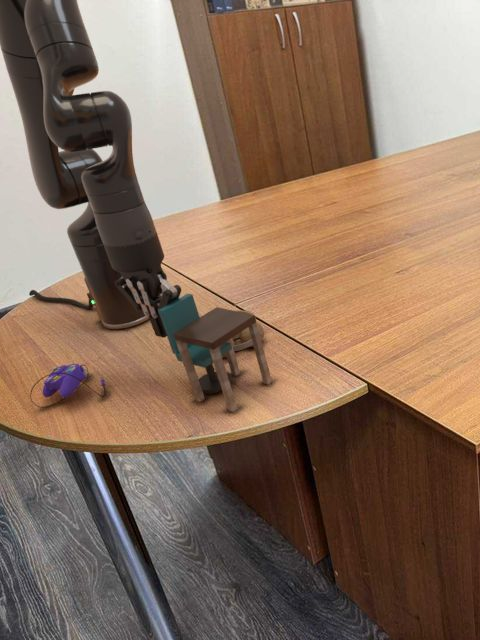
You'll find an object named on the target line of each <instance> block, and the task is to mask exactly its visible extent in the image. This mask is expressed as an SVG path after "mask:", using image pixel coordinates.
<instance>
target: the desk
mask: <svg viewBox="0 0 480 640" xmlns="http://www.w3.org/2000/svg"><path fill="white" fill-rule="evenodd" d="M237 311H238V310H232V309H228V308H227V309H226V308H222V307H219V306H216V307H215V308H213V309H212V310H210V311H207V312H206V313H205V314H203V315H201V316H199V317H200V318H198V319H196V320H195V321H193V322H191V323H190V324H188V325H186V326H185V327H183V328H181V329H180V330H178V331H176V332H175V333H173V335H174V338H175V340H176V344H177V346H178V349H179V352H180V355H181V358H182V361H183V362H182V361H181V362H182V363H183V366H184V369H185V373H186V375H187V379H188V381H189V384H190V387H191V389H192V393H193V395H194V398H195V401H196V402H198V403H202V402H203V401H204V400H205V394H204V393H203V392H202V389H201V386H200V383H199V380H198V379H199V377H198V374H197V372H196V368H195V365H193V362H192V359H191V356H190V353H189V350H188V347H187V344H186V343H189V344H193V345H196V346H200V347H204V348H208V349H209V350H210V353H211V356H212V360H213V363H212V364H213V367H214V370H215V371H216V372H217V375H218V379H219V382H220V385H221V388H222V391H221V392H222V395H223V397H224V400H225V404H226V407H227V410H228V411H229V412H232V413H234V412H235V411H237V410H238V405H237V401H236V399H235V395H234V392H233V389H232V386H231V384H230V382H229V379H228V376H227V372H228V371H227V370H226V366H225V363H224V360H223V359H224V358H222V356H221V353H220V349H219V346H221V345H222V344H224V343H225V342H229V343H231V338H233V337H234V336H236V335H237V334H239V333H240V332H242V331H243V330H245V329H246V328H249V331H250V335H251V339H252V342H253V349H254V353H255V356H256V357H255V358H256V360H257V365H258V368H259V371H260V375H261V378H262V382H263V384H264V385H268V386H269V385H270V384H271V383H273V379H272V376H271V372H270V368H269V365H268V361H267V357H266V353H265V349H264V346H263V342H262V341H263V340H262V341H261V338H260V334H259V330H258V326H257V322H256V321H257V318H256V319H255V317H256V315H255V314H254V315H251V314H246V313H242V312H237ZM231 346H232V343H231ZM226 356H227V357H226V359H227V363H228V366H229V369H230V374H231V376H235V377H237V376H239V375H240V374H241V371H240V366H239V363H238V360H237V357H236V353H235V351H234V349H233V346H232V350H230V351H229V352H227V353H226Z"/></svg>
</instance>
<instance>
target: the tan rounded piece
mask: <svg viewBox="0 0 480 640" xmlns="http://www.w3.org/2000/svg"><path fill="white" fill-rule="evenodd" d="M236 311H237V312H242V313H246V314H251V315H255V313H254V312H252V311H250V310H242V309H240V310H239V309H238V310H236ZM255 319H256V322H257V317H256V316H255ZM257 326H258V330H259V334H260V338H261V341H263V340H264V335H265V332H264V328H263V325H262V324H260V322H257ZM231 343H232V346H233V349H234V352H238V351H241V350H245V349H247V348H251V347H253V348H254V346H253V342H252V339H251V335H250V331H249V328H246V329H245V330H243V331H242V332H240V333H239V334H237V335H236V336H234V337H233V338H231ZM224 358H227V356H226V354H224V355H223V356H222V359H224Z"/></svg>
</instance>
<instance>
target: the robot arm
mask: <svg viewBox="0 0 480 640" xmlns="http://www.w3.org/2000/svg"><path fill="white" fill-rule="evenodd" d="M81 13H82V12H81V11H80V7H79V3H78V0H0V50H1V53H2V57H3V60H4V63H5V68H6V71H7V74H8V78H9V80H10V83H11V87H12V90H13V93H14V97H15V100H16V103H17V106H18V110H19V114H20V117H21V121H22V125H23V131H24V136H25V142H26V147H27V153H28V157H29V162H30V167H31V172H32V177H33V180H34V182H35V185H36V188H37V190H38V192H39V194H40V196H41V198H42V200H43V201H44V202H45V203H46V204H47V205H48V206H49V207H50V208H52V209H55V210H64V209H69V208H73V207H76V206H77V207H78V206H80V205H83V204H87V205H86V208H85V209H84V211H83V212H82V214H80V215H79V216H78V217H77V218H76V219H75V220H73V222H71V223H70V224H69V225H68V227H67V229H66V234H67V237H68V239H69V242H70V244H71V246H72V249H73V251H74V254H75V256H76V259H77V261H78V263H79V266H80V269H81V271H82V273H83V277H84V278H83V280H84V283H85V285H86V288H87V290H88V292H87V293H86V296H87V298H88V304H84V303H82V302H80V301H78V300H75V299H72V298H68V297H67V298H66V297H51V296H45V295H43V294H40V293H39V292H38V291H37V290H35V289H31V290H29V294H28V295H29V297H32V296H35V297H36V298H37V299H39V300H41V301H45V302H54V303H55V302H56V303H57V302H58V303H67V304H72V305H75V306H76V307H79V308H81V309H84V310H91V309H93V308H95V310H96V312H97V315H98V317H99V320H100V321H101V323H102V325H103V327H105V328H106V329H109V330H110V329H111V330H122V329H128V328H132V327H135V326H138V325H141V324H142V323H144V322H147V321H148V320H149V322H150V324H151V327H152V330H153V332H154V335H155V336H156V337H159V338H163V339H164V338H167V334H166V331H165V329H164V326H163V323H162V320H161V317H160V314H159V311H158V310H159V309H161V308H163V307H165V306H166V305H168V304H170V303H172V302H174V301H175V300H177V299H179V298H180V296H181V293H182V287H181V286H180V285H178V284H175V285H172V284H171V283H170V282H169V280H168V277H167V274H166V273H165V270H163V268H162V263H163V261H164V259H165V252H164V250H163V248H162V244H161V241H160V238H159V234H158V232H157V229H156V226H155V223H154V220H153V216H152V214H151V212H150V210H149V208H148V206H147V204H146V201H145V198H144V195H143V192H142V189H141V186H140V184H139V180H138V177H137V173H136V168H135V165H134V164H135V163H134V155H133V123H132V122H133V121H132V115H131V112H130V109H129V107H128V105H127V103H126V102H125V100H123V99H124V98H122V97H121V96H120V95H118V94H117V93H115V92H114V91H111V90H100V91H92V92H86V93H79V94H78V93H77V94H74V92H75V89H76V88H78V87H81V86H84V85H86V84H88V83H90V82H92V81H93V80H95V79H96V78H97V76H98V75H99V71H100V70H99V63H98V61H97V57H96V54H95V52H94V49H93V46H92V43H91V40H90V37H89V34H88V31H87V29H86V26H85V23H84V20H83V17H82V14H81ZM105 147H112V151H111V153H110V155H109V157H108V158H106V159H104V160H103V159H102V157H101V156H100V154H98V152H97V151H96V150H95V149H99V148H105ZM59 149H61V151H59Z"/></svg>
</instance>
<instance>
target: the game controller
mask: <svg viewBox="0 0 480 640" xmlns="http://www.w3.org/2000/svg"><path fill="white" fill-rule="evenodd" d="M84 367H85V368H84ZM50 370H51V372H50V374H48V375H45V376H43V377H41V378H40V379H39V380H37V381H36V383H35V384H34V385H33V386H32V388H31V390H30V400H31V403H32V404H33V405H35V406H36V407H38V408H43V409H45V408H49V407H52V406H55V405H57V404H59V403H60V402H62V401H64V400H65V399H66V398H69V397H71V396H72V395H73V394H74V393H75V392H76V391H77V390H78V389H79V388H80V387H82V386H83V385H85V386H86V387H88V388H89V389H90V390H92V392H94V393H95V394H96V395H97V396H99V397H101V398H104V397H105V396H106V387H105V386H106V382H105V378H104V377H103V376H101V377H100V383H101V387H103V392H104V395H100V394H99V393H98V392H97V391H95V390H94V389H93V388H92V387H90V385H88V384H87V383H86V382H87V381H88V379H89V369H88V367H87V366H86V365H85V364H80V365H79V363H71V364H67V365H66V364H64V365H63V364H62V365H60V366H59V367H58V365H54V366H52V367H51V369H50ZM46 377H47V378H46ZM44 378H46V379H45V380H44V381H43V384H44V385H43V387H42V396H43V397H44V398H50V397H52V396H54V395H55V394H56V393H57V392H58V391H59V395H60V397H61V398H62V399H61V400H58V401H57V402H55V403H53V404H51V405H48V406H40V405H37V404H35V402H34V401H33V399H32V392H33V389H34V388H35V387H36V385H37V384H38V383H39V382H40V381H41V380H43V379H44Z"/></svg>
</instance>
